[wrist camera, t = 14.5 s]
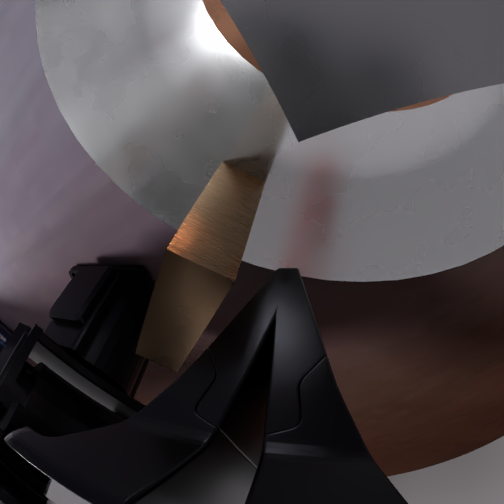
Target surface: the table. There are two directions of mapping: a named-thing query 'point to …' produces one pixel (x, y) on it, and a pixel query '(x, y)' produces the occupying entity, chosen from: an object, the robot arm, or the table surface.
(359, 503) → the robot arm
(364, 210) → the turntable
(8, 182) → the table surface
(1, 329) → the cereal box
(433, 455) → the table surface
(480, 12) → the grey square block
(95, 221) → the table surface
